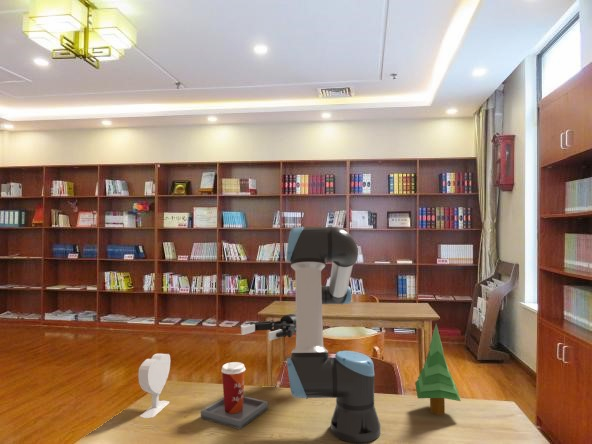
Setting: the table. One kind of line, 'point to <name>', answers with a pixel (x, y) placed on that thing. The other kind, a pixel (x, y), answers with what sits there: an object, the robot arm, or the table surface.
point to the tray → (238, 420)
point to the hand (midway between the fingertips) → (254, 333)
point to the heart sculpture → (154, 381)
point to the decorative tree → (436, 378)
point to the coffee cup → (233, 386)
